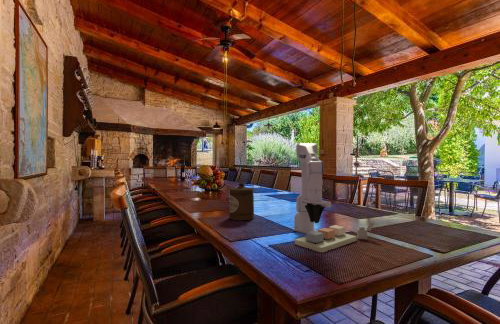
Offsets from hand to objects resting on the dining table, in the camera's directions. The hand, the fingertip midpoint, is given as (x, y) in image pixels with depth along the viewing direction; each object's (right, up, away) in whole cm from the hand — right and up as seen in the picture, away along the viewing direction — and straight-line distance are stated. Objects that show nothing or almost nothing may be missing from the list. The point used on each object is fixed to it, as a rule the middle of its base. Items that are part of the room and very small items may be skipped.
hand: (314, 222), depth 116 cm
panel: (+6, -10, +5) cm, 13 cm away
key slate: (0, -7, 0) cm, 7 cm away
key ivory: (+12, -7, +10) cm, 18 cm away
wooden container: (-32, -9, +53) cm, 62 cm away
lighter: (+26, -10, +11) cm, 29 cm away
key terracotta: (+6, -7, +5) cm, 11 cm away
